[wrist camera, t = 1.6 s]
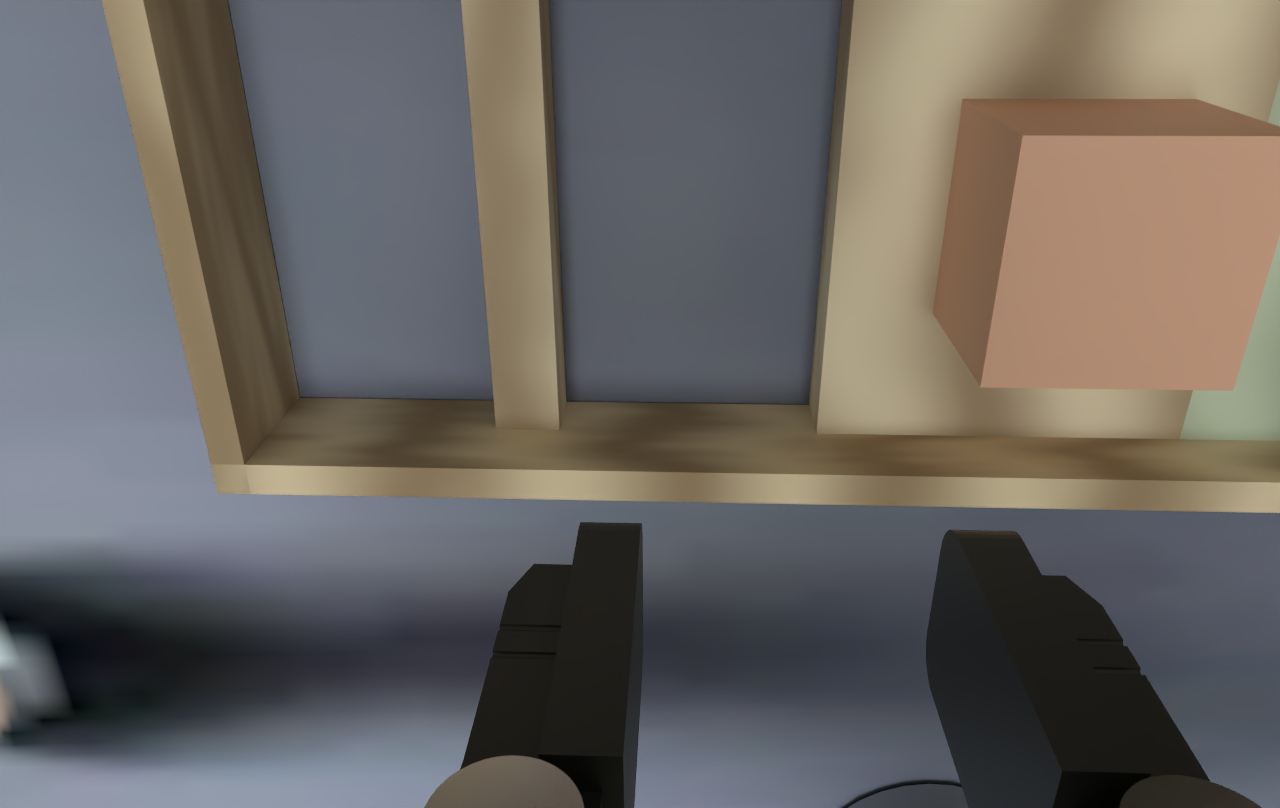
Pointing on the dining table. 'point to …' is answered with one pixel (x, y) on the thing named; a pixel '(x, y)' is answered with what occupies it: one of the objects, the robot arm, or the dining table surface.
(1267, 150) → the block
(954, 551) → the robot arm
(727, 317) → the dining table surface
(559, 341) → the trap lane
